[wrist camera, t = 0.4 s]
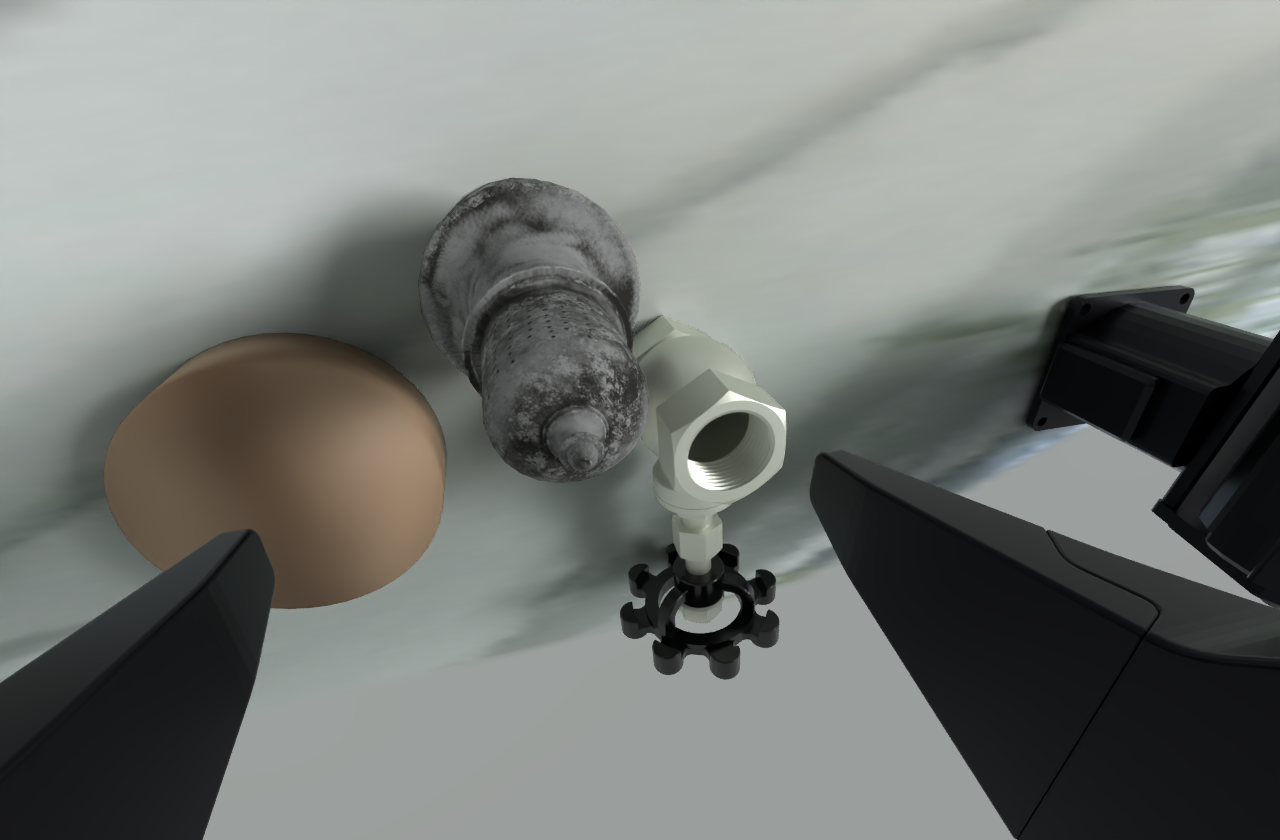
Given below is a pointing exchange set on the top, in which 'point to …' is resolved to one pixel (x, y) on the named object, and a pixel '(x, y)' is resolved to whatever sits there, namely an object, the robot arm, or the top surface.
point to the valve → (703, 493)
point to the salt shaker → (540, 325)
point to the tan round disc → (284, 464)
